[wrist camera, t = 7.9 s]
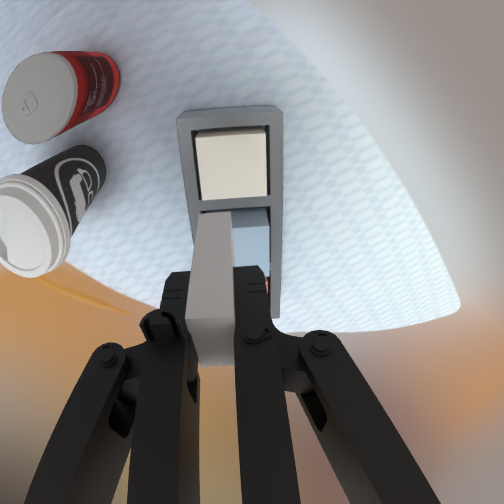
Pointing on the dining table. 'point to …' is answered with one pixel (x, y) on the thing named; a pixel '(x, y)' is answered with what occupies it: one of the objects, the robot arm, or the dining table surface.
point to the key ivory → (232, 162)
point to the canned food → (57, 93)
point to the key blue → (250, 236)
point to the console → (273, 201)
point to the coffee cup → (46, 209)
